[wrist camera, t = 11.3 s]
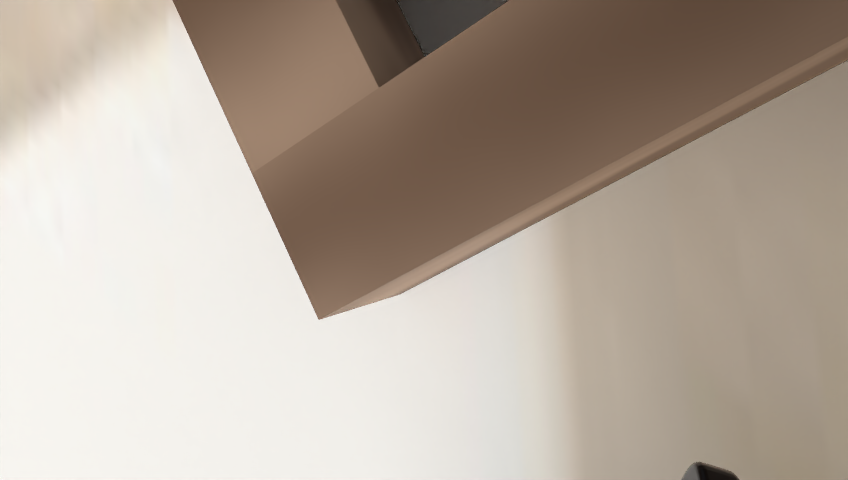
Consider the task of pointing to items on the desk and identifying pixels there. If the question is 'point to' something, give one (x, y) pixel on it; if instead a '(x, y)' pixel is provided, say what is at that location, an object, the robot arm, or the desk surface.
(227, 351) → the desk surface
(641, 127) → the holder block
